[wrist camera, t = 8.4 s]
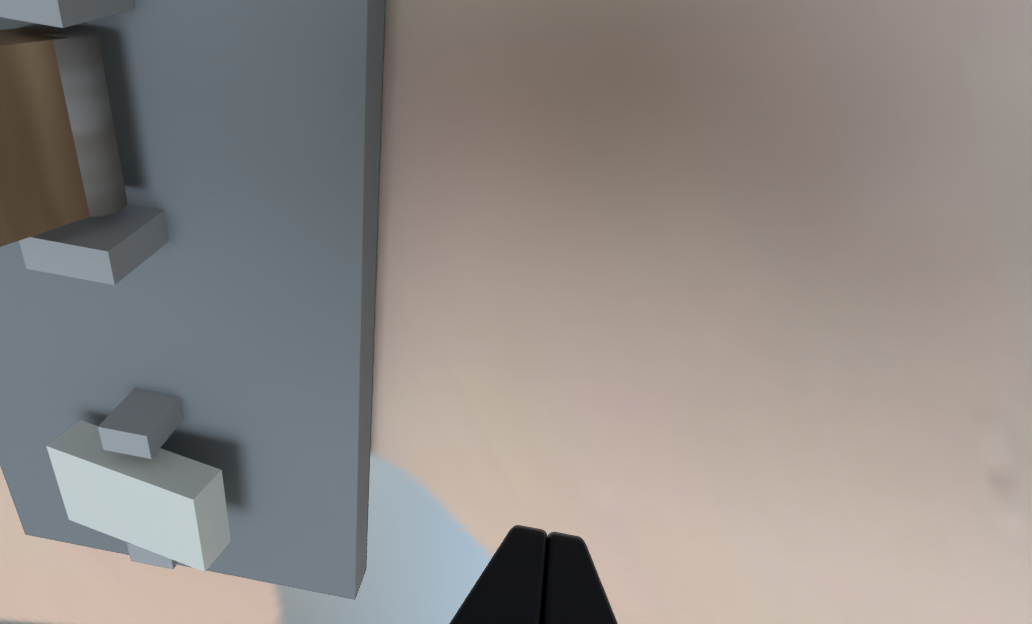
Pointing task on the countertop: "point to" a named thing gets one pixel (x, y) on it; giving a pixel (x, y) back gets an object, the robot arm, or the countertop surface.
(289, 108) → the switch panel
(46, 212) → the walnut lever
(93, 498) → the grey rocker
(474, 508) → the countertop surface
